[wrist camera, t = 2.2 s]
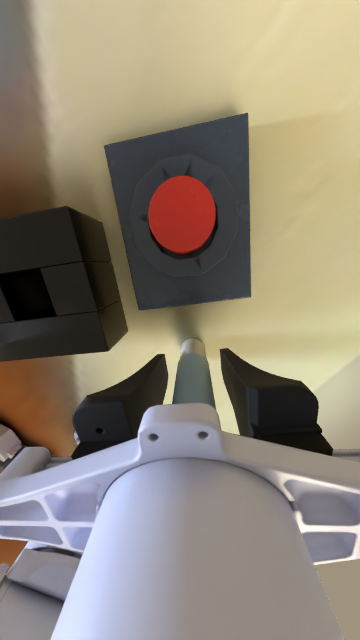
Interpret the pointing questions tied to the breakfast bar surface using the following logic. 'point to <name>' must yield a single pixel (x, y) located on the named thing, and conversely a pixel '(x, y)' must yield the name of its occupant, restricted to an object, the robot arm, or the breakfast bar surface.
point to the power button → (182, 214)
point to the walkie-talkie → (8, 447)
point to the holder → (56, 286)
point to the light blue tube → (193, 375)
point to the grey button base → (230, 203)
